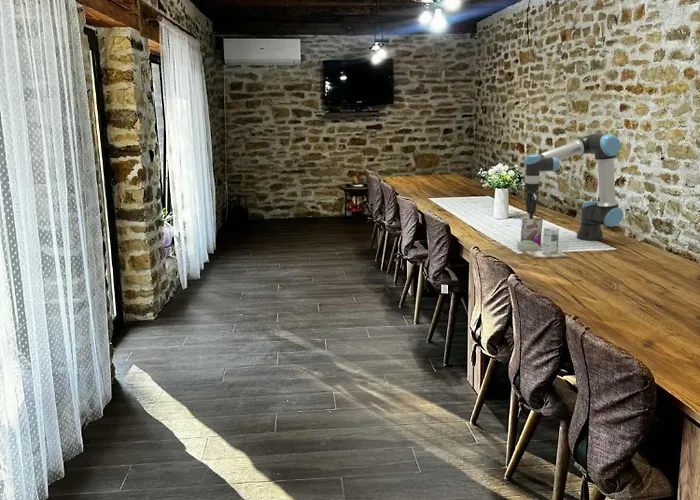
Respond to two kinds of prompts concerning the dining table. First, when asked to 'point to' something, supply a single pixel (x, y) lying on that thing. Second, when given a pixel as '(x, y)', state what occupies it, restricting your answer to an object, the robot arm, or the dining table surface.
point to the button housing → (527, 247)
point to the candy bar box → (531, 230)
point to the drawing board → (545, 255)
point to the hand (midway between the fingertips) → (529, 224)
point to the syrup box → (550, 240)
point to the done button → (528, 242)
